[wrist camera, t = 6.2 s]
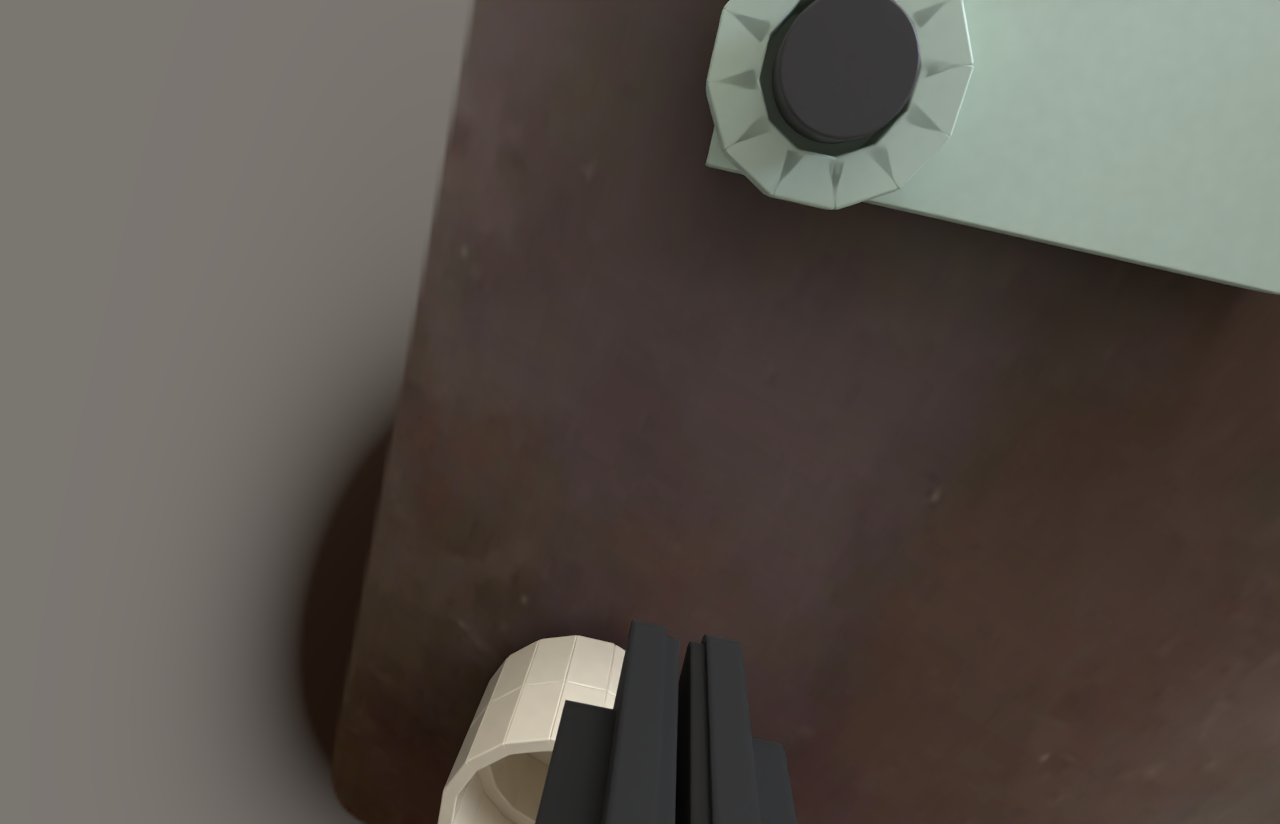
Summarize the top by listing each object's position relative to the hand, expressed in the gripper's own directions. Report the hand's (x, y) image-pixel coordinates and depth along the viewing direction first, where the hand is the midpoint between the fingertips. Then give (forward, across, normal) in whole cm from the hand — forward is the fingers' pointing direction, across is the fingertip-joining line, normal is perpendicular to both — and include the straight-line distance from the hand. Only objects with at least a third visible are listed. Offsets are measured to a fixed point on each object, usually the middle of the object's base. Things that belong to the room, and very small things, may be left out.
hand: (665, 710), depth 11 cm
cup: (+13, +1, +11) cm, 17 cm away
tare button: (+10, -2, -11) cm, 14 cm away
